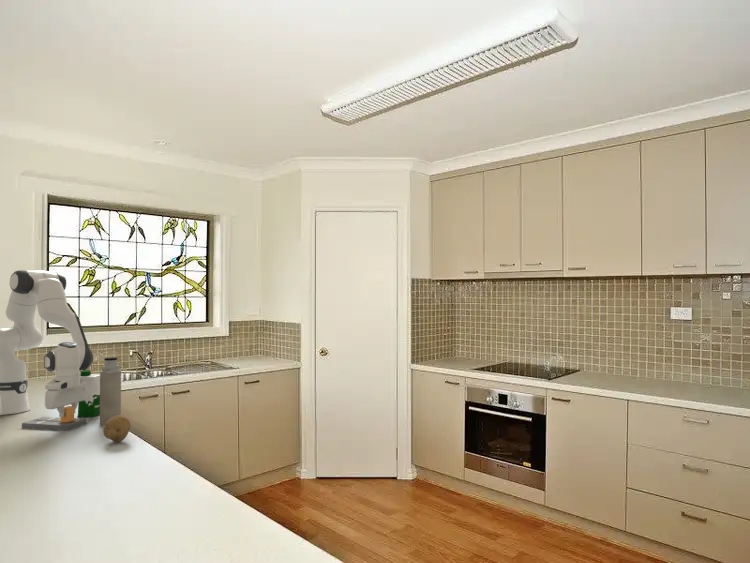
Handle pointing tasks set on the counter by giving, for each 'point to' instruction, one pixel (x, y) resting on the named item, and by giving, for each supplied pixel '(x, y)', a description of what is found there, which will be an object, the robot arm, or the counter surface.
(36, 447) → the counter surface
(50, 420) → the slider board
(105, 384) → the thermos bottle
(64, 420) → the fader knob
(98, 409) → the milk carton
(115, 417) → the natural sponge
